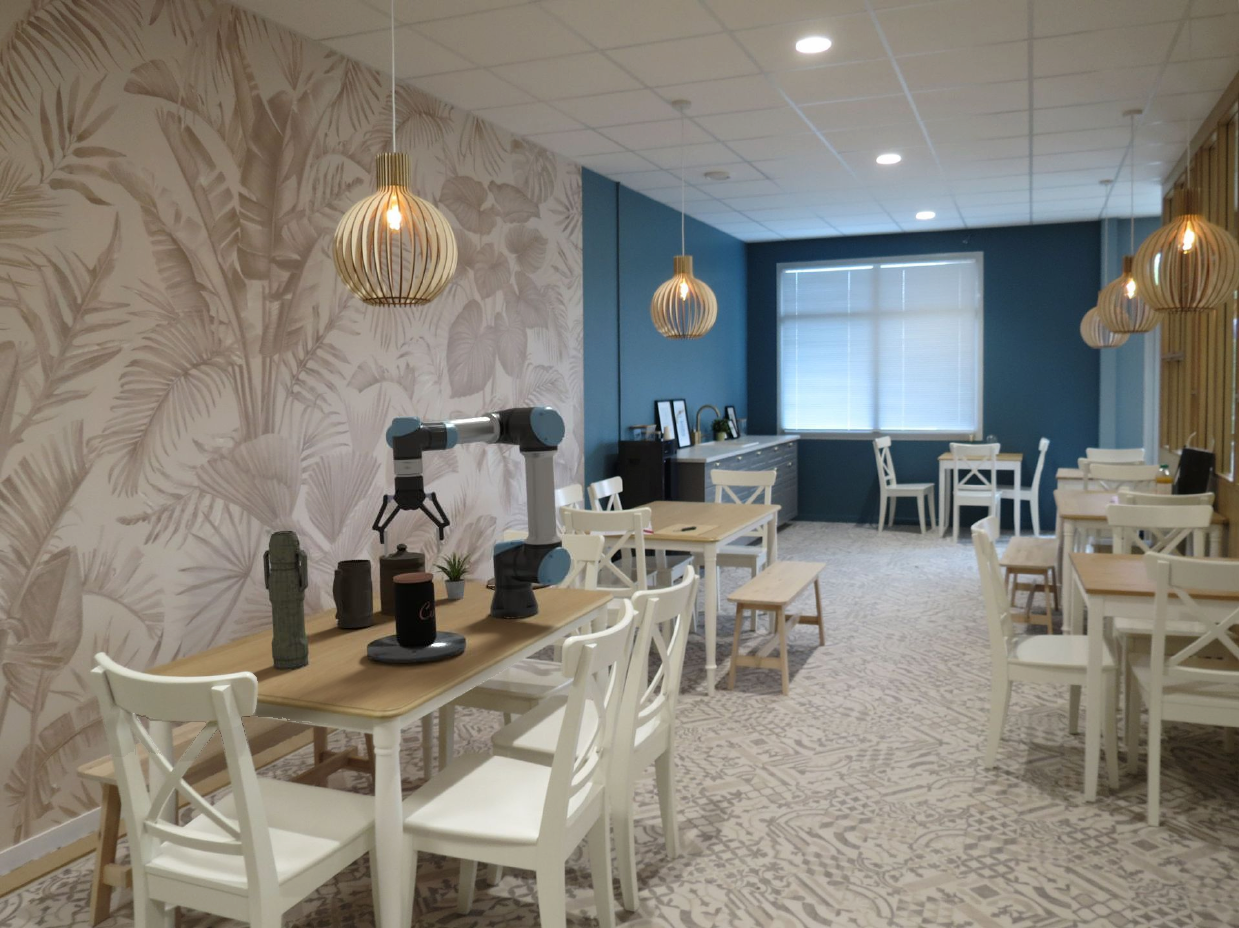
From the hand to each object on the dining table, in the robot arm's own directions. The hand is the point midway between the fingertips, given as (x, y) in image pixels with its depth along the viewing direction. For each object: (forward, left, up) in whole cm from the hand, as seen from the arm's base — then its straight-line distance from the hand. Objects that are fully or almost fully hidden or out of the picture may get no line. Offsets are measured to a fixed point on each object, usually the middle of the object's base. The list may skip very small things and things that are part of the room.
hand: (413, 554), depth 262 cm
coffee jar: (0, 0, -24) cm, 24 cm away
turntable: (0, 0, -27) cm, 27 cm away
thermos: (+32, +3, -27) cm, 42 cm away
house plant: (-10, -75, -27) cm, 80 cm away
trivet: (-33, -93, -27) cm, 102 cm away
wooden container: (+7, -58, -27) cm, 64 cm away
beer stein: (+21, -38, -27) cm, 51 cm away
